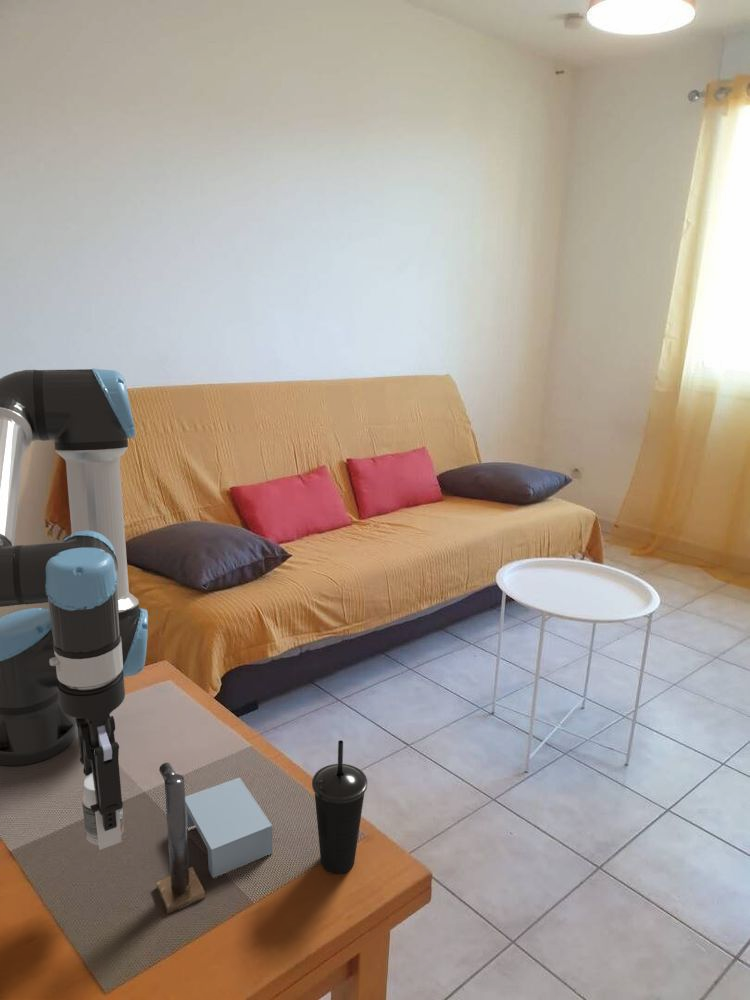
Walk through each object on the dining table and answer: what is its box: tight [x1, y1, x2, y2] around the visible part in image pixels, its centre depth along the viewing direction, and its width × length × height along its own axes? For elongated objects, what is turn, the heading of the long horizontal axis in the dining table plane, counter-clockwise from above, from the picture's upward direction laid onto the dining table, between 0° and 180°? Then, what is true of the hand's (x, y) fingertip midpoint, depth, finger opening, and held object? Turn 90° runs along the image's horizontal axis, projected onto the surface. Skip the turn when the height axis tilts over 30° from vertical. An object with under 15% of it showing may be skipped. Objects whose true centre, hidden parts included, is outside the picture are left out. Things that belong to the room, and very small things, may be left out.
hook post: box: [155, 762, 206, 915], centre depth 95 cm, size 6×5×18 cm
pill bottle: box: [81, 773, 125, 846], centre depth 93 cm, size 5×5×8 cm
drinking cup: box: [311, 740, 368, 875], centre depth 100 cm, size 8×8×20 cm
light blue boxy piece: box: [185, 777, 273, 879], centre depth 106 cm, size 12×9×5 cm
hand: (105, 829), depth 94 cm, fingers closed on pill bottle, 5 cm apart
